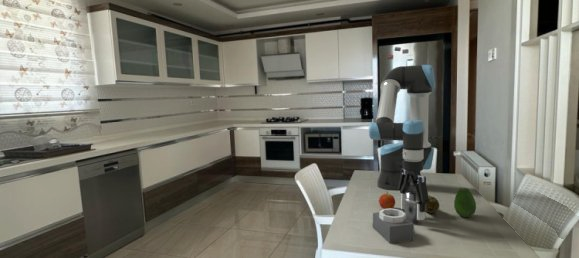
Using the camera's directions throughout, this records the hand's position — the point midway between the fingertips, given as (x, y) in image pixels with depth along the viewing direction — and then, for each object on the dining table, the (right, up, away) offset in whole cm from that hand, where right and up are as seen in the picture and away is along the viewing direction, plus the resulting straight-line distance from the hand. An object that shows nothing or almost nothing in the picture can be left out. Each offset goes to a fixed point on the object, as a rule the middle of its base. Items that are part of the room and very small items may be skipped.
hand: (412, 213), depth 126 cm
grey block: (-11, -5, -10) cm, 16 cm away
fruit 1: (-6, -2, +15) cm, 16 cm away
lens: (0, -3, 0) cm, 3 cm away
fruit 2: (+23, -2, +4) cm, 23 cm away
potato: (+11, -2, +9) cm, 14 cm away
